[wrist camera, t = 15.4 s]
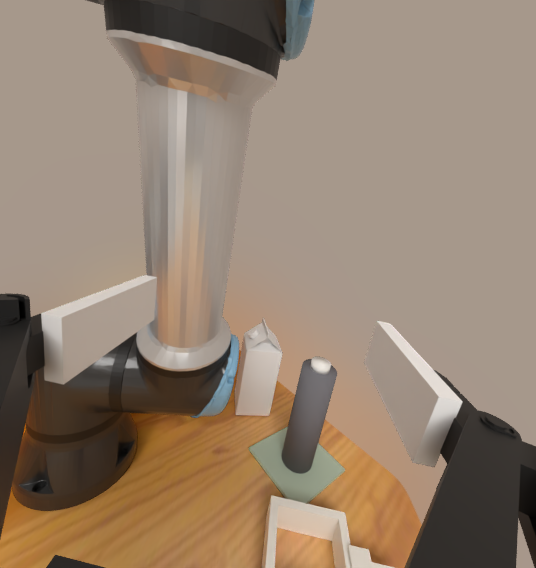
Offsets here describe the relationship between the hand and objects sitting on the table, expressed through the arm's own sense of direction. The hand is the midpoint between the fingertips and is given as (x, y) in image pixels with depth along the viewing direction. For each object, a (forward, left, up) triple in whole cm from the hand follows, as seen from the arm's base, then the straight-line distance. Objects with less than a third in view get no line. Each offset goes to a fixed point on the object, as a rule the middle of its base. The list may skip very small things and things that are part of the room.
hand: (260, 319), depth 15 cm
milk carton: (-25, +24, -34) cm, 48 cm away
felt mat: (-10, +23, -34) cm, 42 cm away
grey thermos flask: (-10, +23, -34) cm, 42 cm away
